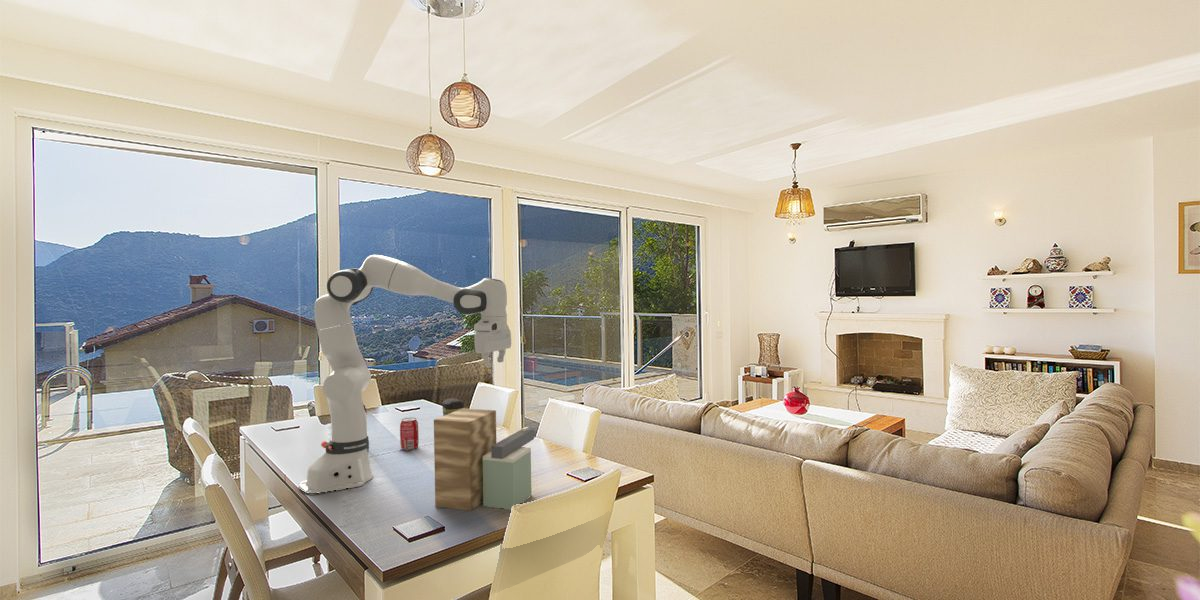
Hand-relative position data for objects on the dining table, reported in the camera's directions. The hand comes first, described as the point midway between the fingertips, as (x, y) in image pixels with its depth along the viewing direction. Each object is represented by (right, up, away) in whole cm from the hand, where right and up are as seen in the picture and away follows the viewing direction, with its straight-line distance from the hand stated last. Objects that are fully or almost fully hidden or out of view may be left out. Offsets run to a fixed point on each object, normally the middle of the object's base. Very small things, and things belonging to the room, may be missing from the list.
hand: (494, 363), depth 195 cm
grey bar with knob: (+10, -24, -21) cm, 34 cm away
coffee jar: (-24, -38, +39) cm, 60 cm away
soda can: (-40, -38, +32) cm, 64 cm away
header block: (+9, -39, -25) cm, 47 cm away
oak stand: (-4, -39, -23) cm, 45 cm away
